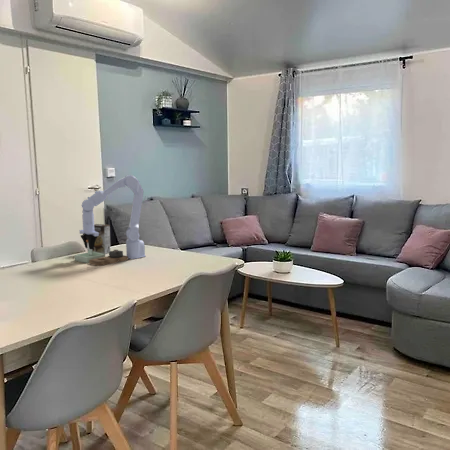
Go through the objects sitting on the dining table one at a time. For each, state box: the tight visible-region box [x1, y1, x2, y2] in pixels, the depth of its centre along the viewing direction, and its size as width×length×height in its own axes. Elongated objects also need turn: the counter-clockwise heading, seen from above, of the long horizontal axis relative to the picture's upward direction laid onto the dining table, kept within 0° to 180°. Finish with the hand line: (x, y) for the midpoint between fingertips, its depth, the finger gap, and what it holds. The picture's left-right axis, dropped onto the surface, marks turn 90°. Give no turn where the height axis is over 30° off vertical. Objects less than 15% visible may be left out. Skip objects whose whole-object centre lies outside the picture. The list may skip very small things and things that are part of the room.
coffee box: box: [92, 223, 111, 255], centre depth 264 cm, size 9×6×16 cm
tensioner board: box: [88, 249, 129, 267], centre depth 242 cm, size 18×8×6 cm, turn 139°
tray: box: [74, 252, 106, 264], centre depth 246 cm, size 11×11×3 cm
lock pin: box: [86, 240, 93, 255], centre depth 245 cm, size 3×3×8 cm
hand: (89, 248), depth 245 cm, fingers closed on lock pin, 3 cm apart
